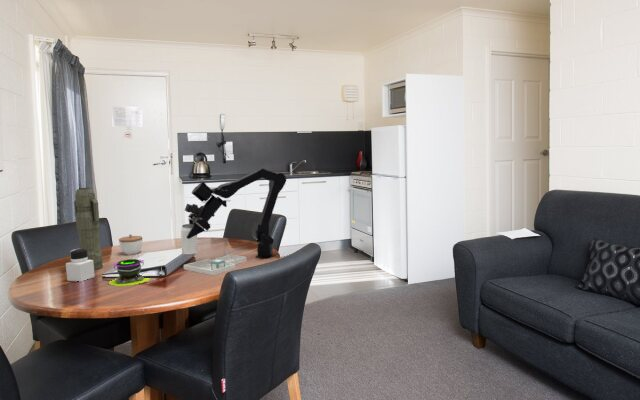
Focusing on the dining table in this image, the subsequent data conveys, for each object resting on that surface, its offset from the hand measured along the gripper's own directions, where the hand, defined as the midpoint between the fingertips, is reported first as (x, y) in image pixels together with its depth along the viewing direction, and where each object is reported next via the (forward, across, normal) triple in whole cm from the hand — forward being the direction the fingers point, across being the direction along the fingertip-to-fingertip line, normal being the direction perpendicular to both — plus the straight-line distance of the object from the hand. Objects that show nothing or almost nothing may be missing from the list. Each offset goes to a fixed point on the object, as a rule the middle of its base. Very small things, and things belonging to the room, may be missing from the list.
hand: (185, 237), depth 199 cm
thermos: (+35, -22, -17) cm, 45 cm away
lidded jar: (+23, -44, -4) cm, 50 cm away
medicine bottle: (+38, -6, -20) cm, 43 cm away
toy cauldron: (+26, +8, -8) cm, 28 cm away
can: (+4, -1, +6) cm, 8 cm away
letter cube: (+2, +14, +16) cm, 21 cm away
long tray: (+4, +10, +14) cm, 18 cm away
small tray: (-3, +3, +22) cm, 22 cm away
